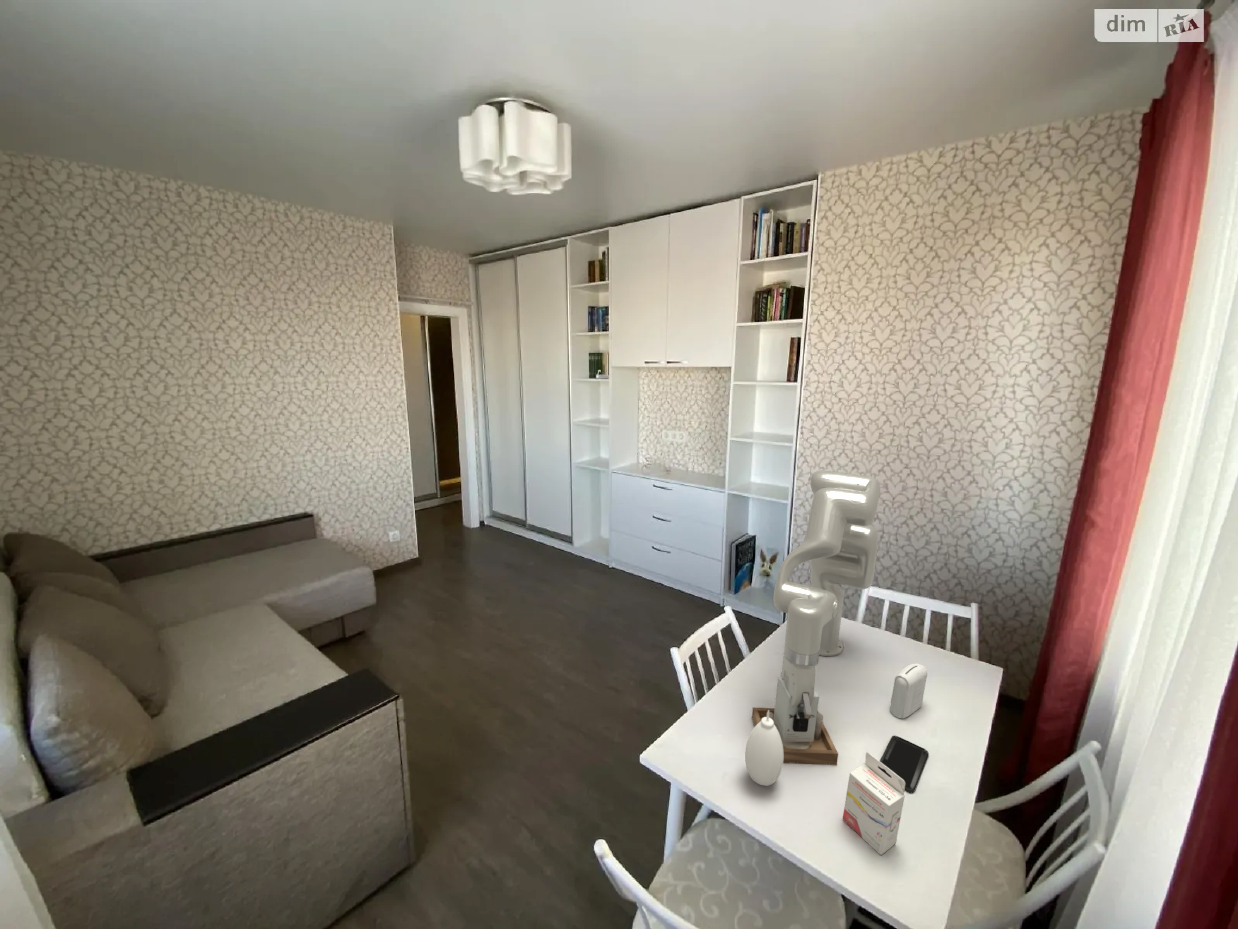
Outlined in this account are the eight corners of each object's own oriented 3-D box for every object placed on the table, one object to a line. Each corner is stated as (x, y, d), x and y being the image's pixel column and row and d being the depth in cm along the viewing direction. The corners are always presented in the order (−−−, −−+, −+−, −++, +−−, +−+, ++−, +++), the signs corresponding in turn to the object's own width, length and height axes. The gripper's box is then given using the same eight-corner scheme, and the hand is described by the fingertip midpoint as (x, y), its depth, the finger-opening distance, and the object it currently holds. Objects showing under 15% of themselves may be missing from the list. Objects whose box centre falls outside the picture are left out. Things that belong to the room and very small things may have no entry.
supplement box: (783, 743, 117) (787, 697, 114) (772, 720, 124) (776, 675, 121) (814, 743, 117) (820, 696, 114) (802, 719, 124) (807, 675, 121)
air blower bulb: (750, 760, 115) (756, 692, 110) (785, 776, 111) (792, 706, 106) (738, 784, 108) (743, 713, 104) (774, 803, 104) (782, 729, 100)
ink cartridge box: (841, 820, 101) (849, 758, 97) (856, 809, 103) (865, 749, 100) (881, 857, 93) (892, 792, 90) (897, 844, 96) (908, 781, 92)
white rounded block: (907, 697, 136) (914, 656, 133) (924, 706, 133) (931, 665, 130) (886, 711, 130) (893, 670, 128) (903, 722, 127) (910, 679, 124)
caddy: (751, 717, 128) (753, 693, 126) (815, 719, 127) (818, 695, 126) (765, 762, 114) (767, 736, 113) (836, 764, 114) (840, 738, 112)
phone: (929, 751, 117) (913, 792, 106) (929, 755, 117) (912, 796, 106) (892, 733, 122) (873, 771, 111) (891, 737, 122) (873, 775, 112)
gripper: (774, 630, 124) (769, 692, 128) (796, 676, 107) (789, 746, 111) (805, 631, 124) (798, 693, 128) (832, 677, 107) (823, 747, 111)
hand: (794, 717), depth 120 cm, fingers closed on supplement box, 7 cm apart
